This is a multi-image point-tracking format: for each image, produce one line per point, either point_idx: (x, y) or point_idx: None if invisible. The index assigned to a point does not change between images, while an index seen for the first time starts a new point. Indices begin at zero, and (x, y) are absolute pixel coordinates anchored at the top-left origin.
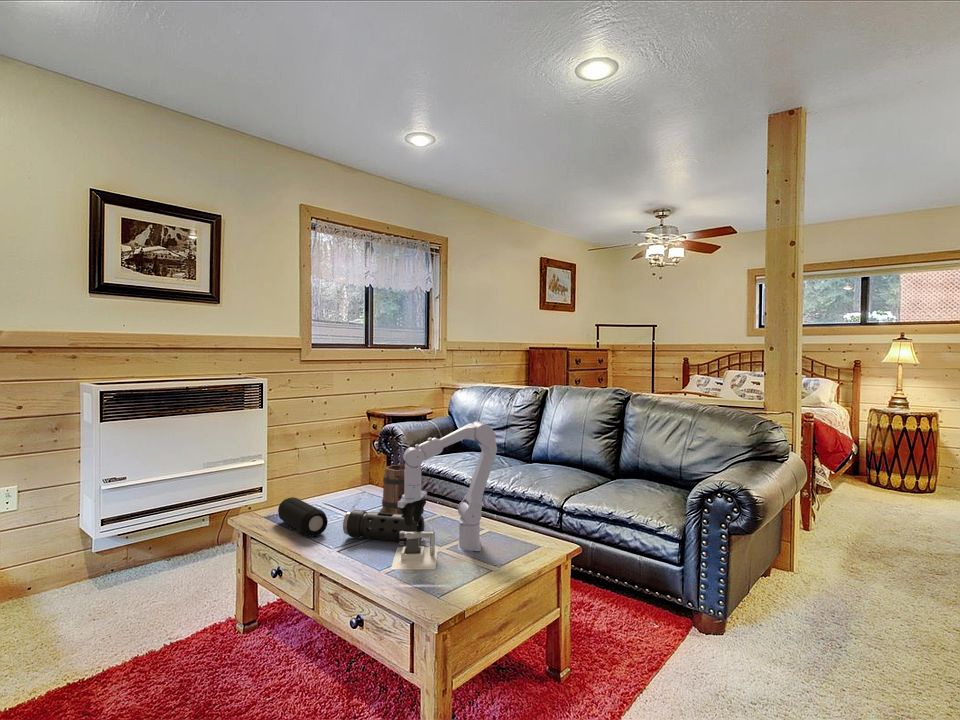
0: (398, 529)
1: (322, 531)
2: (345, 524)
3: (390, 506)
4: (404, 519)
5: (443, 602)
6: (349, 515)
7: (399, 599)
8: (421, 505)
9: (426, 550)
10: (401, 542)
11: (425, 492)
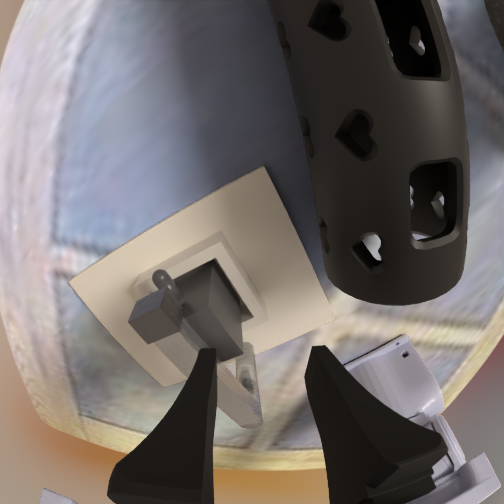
0: (316, 167)
1: None
2: None
3: None
4: (188, 377)
5: (77, 422)
6: None
7: (20, 363)
8: (331, 492)
9: (286, 303)
10: (158, 289)
11: None
